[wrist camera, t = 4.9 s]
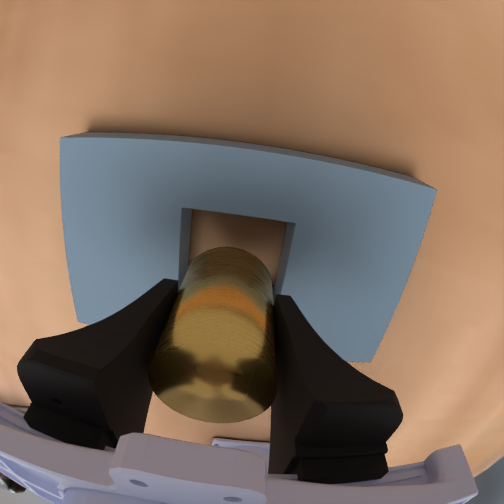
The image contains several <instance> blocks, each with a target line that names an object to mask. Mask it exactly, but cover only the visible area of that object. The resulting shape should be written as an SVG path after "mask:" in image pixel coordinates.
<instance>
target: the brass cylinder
mask: <svg viewBox="0 0 504 504" xmlns="http://www.w3.org/2000/svg"><path fill="white" fill-rule="evenodd" d="M148 379H149V383H150V385H151V388H152V389H153V391H154V393H155V394H156V395H157V397H158V398H159V399H160V400H161V401H162V402H163V403H165V404H166V405H167V406H168V407H170V408H171V409H173V410H175V411H176V412H178V413H180V414H182V415H185V416H187V417H190V418H193V419H196V420H200V421H205V422H212V423H233V422H240V421H244V420H248V419H251V418H253V417H256V416H258V415H259V414H261V413H263V412H264V411H265V410H267V409H268V408H269V407H270V406H271V405H272V403H273V402H274V400H275V398H276V395H277V368H276V348H275V329H274V311H273V294H272V281H271V277H270V274H269V272H268V270H267V268H266V267H265V265H264V264H263V263H262V262H261V261H260V260H259V259H258V258H257V257H256V256H254V255H253V254H251V253H249V252H247V251H245V250H242V249H239V248H234V247H219V248H214V249H210V250H208V251H206V252H204V253H202V254H200V255H199V256H198V257H196V258H195V259H194V260H193V262H192V263H191V264H190V266H189V268H188V270H187V272H186V275H185V277H184V280H183V282H182V284H181V287H180V289H179V292H178V294H177V297H176V299H175V301H174V304H173V306H172V309H171V311H170V314H169V316H168V319H167V322H166V324H165V327H164V329H163V332H162V334H161V337H160V339H159V342H158V345H157V347H156V350H155V353H154V355H153V358H152V361H151V363H150V366H149V370H148Z"/></svg>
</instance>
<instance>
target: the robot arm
mask: <svg viewBox="0 0 504 504" xmlns="http://www.w3.org/2000/svg"><path fill="white" fill-rule="evenodd" d="M177 294H178V280H173V279H167V278H164V279H162V280H161V281H160V282H158V283H157V284H156V285H155V286H153V287H152V288H151V289H149V290H148V291H147V292H146V293H144V294H143V295H141V296H140V297H139V298H137V299H136V300H135V301H133V302H132V303H130V304H129V305H127V306H126V307H124V308H123V309H121V310H119V311H118V312H116V313H114V314H112V315H110V316H109V317H107V318H105V319H103V320H101V321H98V322H96V323H93V324H91V325H89V326H86V327H84V328H81V329H78V330H75V331H72V332H68V333H65V334H61V335H57V336H52V337H46V338H41V339H36V340H35V341H34V342H33V344H32V345H31V346H30V348H29V349H28V350H27V352H26V353H25V354H24V356H23V357H22V358H21V360H20V361H19V363H18V365H17V372H18V375H19V378H20V381H21V383H22V385H23V386H24V388H25V390H26V392H27V394H28V396H29V398H30V399H31V401H32V403H31V404H30V406H29V408H28V410H27V411H26V413H25V414H23V413H21V412H19V411H17V410H15V409H13V408H11V407H10V406H8V405H6V404H4V403H2V402H0V472H1V473H3V474H4V475H6V476H7V477H9V478H10V479H12V480H13V481H15V482H17V483H18V484H20V485H21V486H23V487H25V488H26V489H28V490H30V491H32V492H33V493H35V494H37V495H39V496H41V497H42V498H44V499H46V500H48V501H50V502H52V503H54V504H464V503H465V502H467V501H468V500H470V499H471V498H473V497H474V496H476V495H477V494H478V490H477V487H476V484H475V482H474V478H473V476H472V473H471V470H470V468H469V465H468V462H467V460H466V457H465V455H464V452H463V450H462V447H461V445H459V444H458V445H454V446H450V447H446V448H442V449H439V450H436V451H435V452H433V453H432V454H430V455H429V456H428V457H427V458H426V459H425V461H423V462H418V463H413V464H407V465H402V466H396V467H390V468H388V466H387V462H386V458H385V454H386V453H387V451H388V448H387V444H386V441H387V440H388V439H389V438H390V437H391V435H392V434H393V433H394V432H395V431H396V429H397V428H398V427H399V425H400V424H401V422H402V419H403V413H402V410H401V407H400V404H399V401H398V399H397V396H396V394H395V392H394V391H393V390H391V389H389V388H387V387H385V386H383V385H381V384H379V383H377V382H375V381H374V380H372V379H370V378H369V377H367V376H365V375H364V374H362V373H361V372H359V371H358V370H356V369H355V368H354V367H352V366H351V365H350V364H348V363H347V362H346V361H345V360H343V359H342V358H341V357H340V356H339V355H338V354H337V353H335V352H334V351H333V350H332V349H331V348H330V347H329V346H328V345H327V344H326V343H325V342H324V341H323V339H322V338H321V337H320V336H319V335H318V334H317V332H316V331H315V330H314V329H313V327H312V326H311V325H310V323H309V322H308V321H307V319H306V318H305V316H304V315H303V313H302V312H301V310H300V309H299V307H298V306H297V304H296V303H295V301H294V300H293V298H292V297H291V296H289V295H281V294H276V297H275V302H274V306H273V311H274V329H275V348H276V368H277V395H276V398H275V400H274V402H273V403H272V405H271V433H270V443H265V442H251V441H240V440H231V439H222V438H214V439H213V441H212V445H205V444H199V443H192V442H186V441H181V440H175V439H170V438H165V437H160V436H156V435H151V434H144V433H143V432H144V427H145V422H146V418H147V413H148V409H149V404H150V400H151V396H152V392H153V389H152V388H151V385H150V383H149V379H148V370H149V366H150V363H151V361H152V358H153V355H154V353H155V350H156V347H157V345H158V342H159V339H160V337H161V334H162V332H163V329H164V327H165V324H166V322H167V319H168V316H169V314H170V311H171V309H172V306H173V304H174V301H175V299H176V297H177Z"/></svg>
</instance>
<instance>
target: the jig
mask: <svg viewBox="0 0 504 504" xmlns="http://www.w3.org/2000/svg"><path fill="white" fill-rule="evenodd" d="M60 189H61V208H62V221H63V232H64V241H65V250H66V257H67V265H68V271H69V278H70V284H71V290H72V295H73V300H74V305H75V310H76V315H77V320H78V322H80V323H84V324H88V325H91V324H93V323H96V322H98V321H101V320H103V319H105V318H107V317H109V316H110V315H112V314H114V313H116V312H118V311H119V310H121V309H123V308H124V307H126V306H127V305H129V304H130V303H132V302H133V301H135V300H136V299H137V298H139V297H140V296H141V295H143V294H144V293H146V292H147V291H148V290H149V289H151V288H152V287H153V286H155V285H156V284H157V283H158V282H160V281H161V280H162V279H164V278H167V279H173V280H178V292H179V289H180V287H181V284H182V282H183V280H184V277H185V275H186V272H187V270H188V268H189V251H190V235H191V221H192V209H198V210H206V211H214V212H221V213H229V214H236V215H243V216H251V217H258V218H265V219H271V220H278V221H285V222H287V225H286V231H285V236H284V241H283V246H282V251H281V256H280V261H279V266H278V271H277V276H276V280H275V285H274V288H272V294H273V306H274V302H275V297H276V294H281V295H289V296H291V297H292V298H293V300H294V301H295V303H296V304H297V306H298V307H299V309H300V310H301V312H302V313H303V315H304V316H305V318H306V319H307V321H308V322H309V323H310V325H311V326H312V327H313V329H314V330H315V331H316V332H317V334H318V335H319V336H320V337H321V338H322V339H323V341H324V342H325V343H326V344H327V345H328V346H329V347H330V348H331V349H332V350H333V351H334V352H335V353H337V354H338V355H339V356H340V357H341V358H342V359H343V360H345V361H346V362H371V360H372V358H373V356H374V354H375V352H376V350H377V348H378V346H379V344H380V342H381V340H382V338H383V336H384V334H385V332H386V329H387V327H388V325H389V323H390V321H391V318H392V316H393V314H394V311H395V309H396V307H397V304H398V302H399V300H400V297H401V295H402V292H403V290H404V287H405V285H406V282H407V280H408V277H409V275H410V272H411V269H412V267H413V264H414V261H415V258H416V256H417V253H418V250H419V247H420V244H421V241H422V238H423V235H424V232H425V229H426V226H427V223H428V219H429V216H430V213H431V209H432V206H433V202H434V199H435V195H436V191H437V189H435V188H433V187H431V186H429V185H427V184H425V183H424V182H422V181H420V180H418V179H416V178H414V177H411V176H407V175H404V174H400V173H396V172H392V171H389V170H385V169H381V168H377V167H373V166H368V165H364V164H360V163H356V162H351V161H347V160H342V159H337V158H333V157H328V156H323V155H318V154H312V153H307V152H302V151H296V150H290V149H284V148H278V147H272V146H265V145H258V144H251V143H244V142H236V141H228V140H219V139H210V138H200V137H189V136H177V135H163V134H146V133H120V132H85V133H80V134H75V135H70V136H66V137H61V138H60Z"/></svg>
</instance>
